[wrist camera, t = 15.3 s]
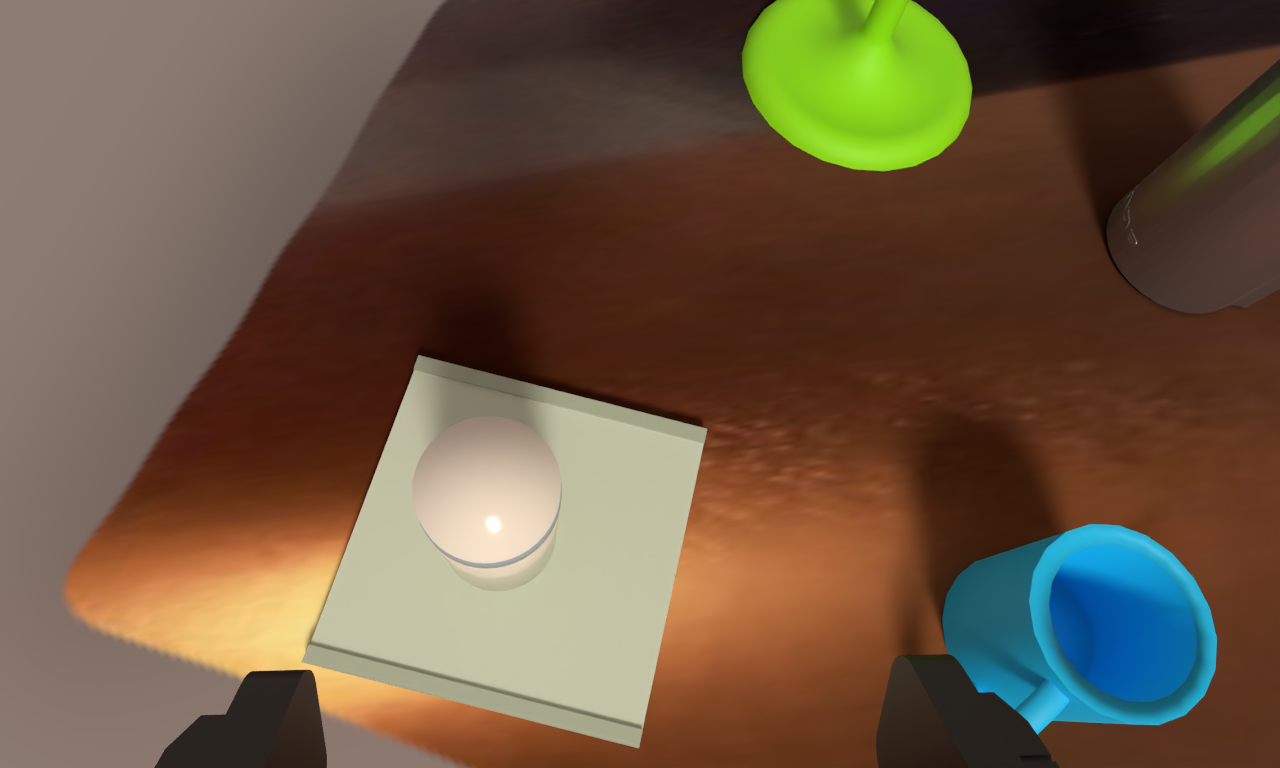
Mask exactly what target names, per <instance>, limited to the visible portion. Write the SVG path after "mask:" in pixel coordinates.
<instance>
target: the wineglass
mask: <svg viewBox="0 0 1280 768" xmlns="http://www.w3.org/2000/svg"><path fill="white" fill-rule="evenodd" d="M742 64H743V78H744V81H745V83H746V86H747V89H748V91H749V94H750V96H751V99H752V102H753V103H754V105H755V106H756V107H757V109H758V110H759V111H760V113H761V114H762V115H763V117H764V118H765V119H766V121H767V122H768V124H769V125H770V126H771V127H772V128H774V129H775V130H776V131H777V132H778V133H780V134H781V135H782V136H783V137H784V138H785V139H787V140H788V141H789V142H790V143H791V144H793V145H794V146H796V147H798V148H800V149H802V150H804V151H805V152H807V153H809V154H811V155H813V156H815V157H817V158H819V159H821V160H823V161H826V162H830V163H833V164H837V165H840V166H844V167H848V168H851V169H859V170H875V171H889V170H895V169H900V168H906V167H912V166H915V165H918V164H920V163H922V162H924V161H926V160H928V159H931V158H933V157H935V156H937V155H939V154H940V153H941V152H942V151H943V150H944V149H945V148H947V147H948V146H949V145H950V144H951V143H952V142H953V141H954V140H955V139H956V138H957V137H958V135H959V133H960V131H961V130H962V128H963V126H964V124H965V122H966V120H967V118H968V116H969V110H970V102H971V95H972V85H971V79H970V74H969V69H968V64H967V61H966V59H965V58H964V56H963V54H962V52H961V50H960V48H959V46H958V44H957V42H956V40H955V39H954V37H953V36H952V35H951V34H950V33H949V32H948V31H947V29H946V28H945V27H944V26H943V25H942V24H941V22H940V21H939V20H938V19H937V18H935V17H934V16H933V15H931V14H930V13H929V12H927V11H926V10H925V9H924V8H922V7H921V6H920V5H918V4H917V3H915V2H913V1H911V0H776V1H775V2H774V3H772V4H771V5H769V6H768V7H767V8H765V9H764V10H763V11H762V13H761V14H760V16H759V17H758V18H757V20H756V21H755V23H754V24H753V25H752V27H751V28H750V29H749V31H748V34H747V38H746V41H745V44H744V48H743V51H742Z"/></svg>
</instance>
